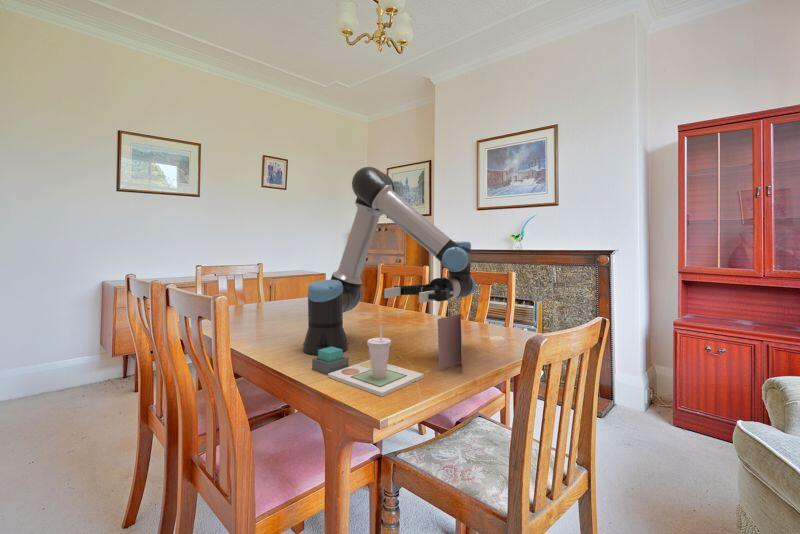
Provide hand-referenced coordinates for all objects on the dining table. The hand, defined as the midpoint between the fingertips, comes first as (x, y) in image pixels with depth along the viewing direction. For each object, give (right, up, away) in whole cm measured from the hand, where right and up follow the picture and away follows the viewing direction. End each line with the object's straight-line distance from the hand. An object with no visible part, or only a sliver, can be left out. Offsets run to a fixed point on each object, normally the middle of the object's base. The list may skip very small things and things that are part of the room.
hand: (401, 295), depth 106 cm
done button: (-21, -19, +3) cm, 28 cm away
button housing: (-21, -22, +3) cm, 30 cm away
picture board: (-7, -22, -4) cm, 24 cm away
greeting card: (+17, -22, +4) cm, 28 cm away
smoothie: (-6, -21, -6) cm, 23 cm away
